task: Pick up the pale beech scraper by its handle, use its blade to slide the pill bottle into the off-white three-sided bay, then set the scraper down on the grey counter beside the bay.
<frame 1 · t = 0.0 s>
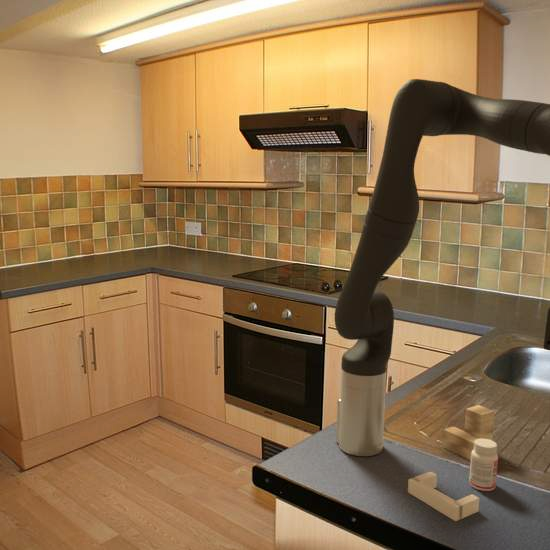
bay: (449, 498, 108), on the worktop
scraper: (477, 450, 127), on the worktop
pill bottle: (482, 486, 113), on the worktop
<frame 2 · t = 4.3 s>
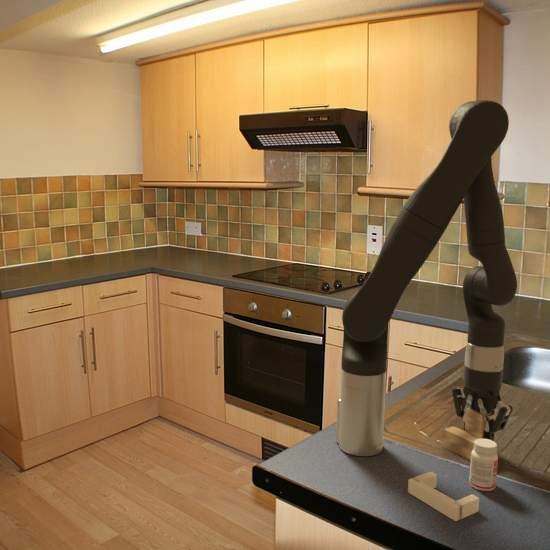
hand: (478, 442, 126), 2 cm above the worktop, fingers closed on scraper, 4 cm apart
scraper: (477, 450, 127), on the worktop, touching gripper
everything else where it was.
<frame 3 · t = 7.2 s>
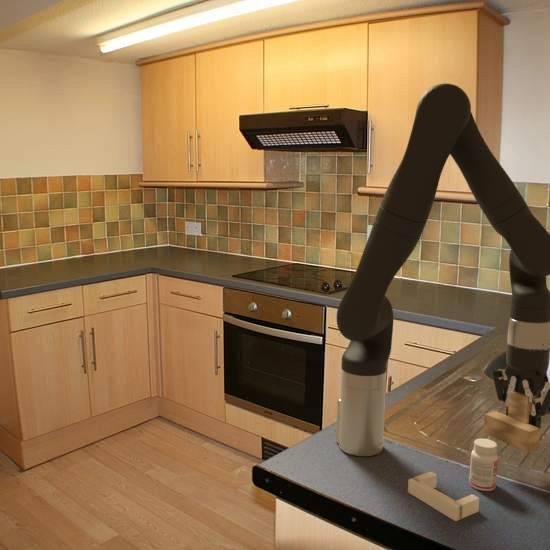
hand: (522, 428, 116), 9 cm above the worktop, fingers closed on scraper, 4 cm apart
scraper: (521, 436, 116), point 7 cm above the worktop, touching gripper
everything else where it was.
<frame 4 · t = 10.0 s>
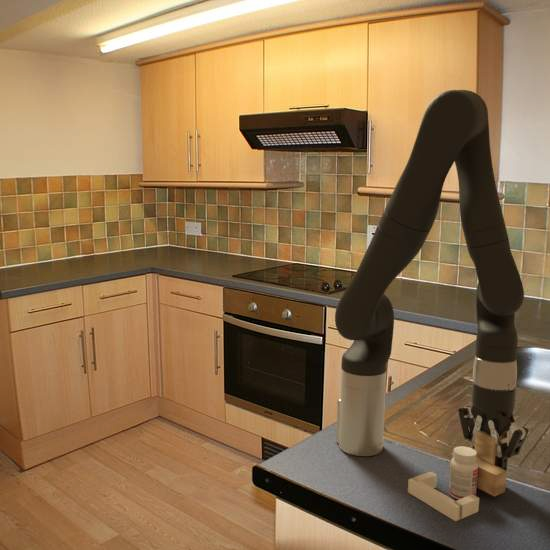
hand: (488, 468, 113), 3 cm above the worktop, fingers closed on scraper, 4 cm apart
scraper: (488, 477, 113), point 1 cm above the worktop, touching gripper, pill bottle
pill bottle: (462, 495, 109), on the worktop, touching scraper
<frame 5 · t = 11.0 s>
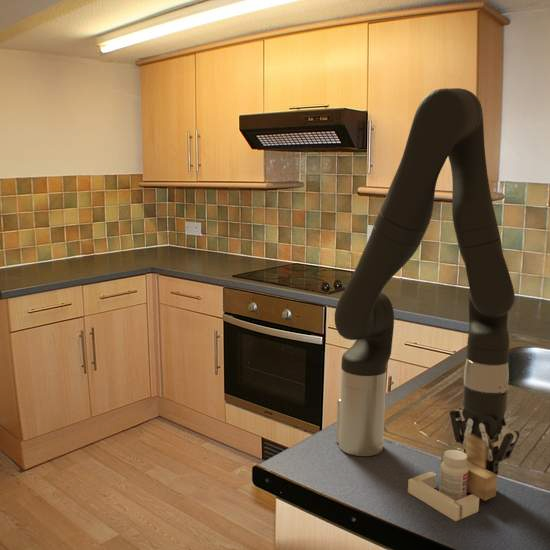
hand: (480, 472, 111), 3 cm above the worktop, fingers closed on scraper, 4 cm apart
scraper: (479, 481, 111), point 1 cm above the worktop, touching gripper, pill bottle
pill bottle: (452, 499, 108), on the worktop, touching scraper
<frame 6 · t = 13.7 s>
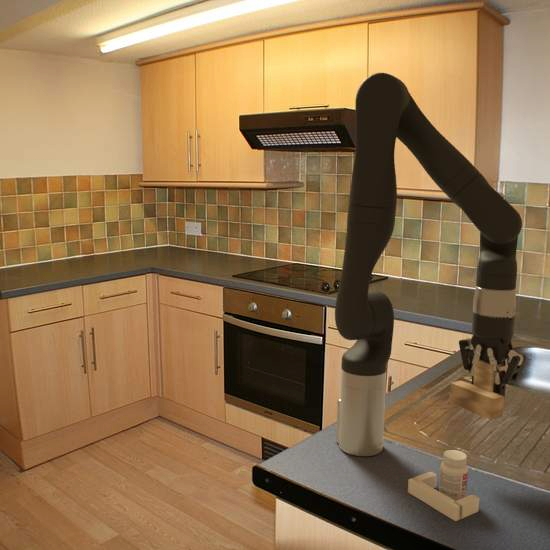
hand: (487, 397, 116), 15 cm above the worktop, fingers closed on scraper, 4 cm apart
scraper: (486, 406, 116), point 13 cm above the worktop, touching gripper
pill bottle: (452, 499, 108), on the worktop
when the fingers open (4 cm above the worktop, at t = 16.0 s): scraper drops 2 cm, on the worktop.
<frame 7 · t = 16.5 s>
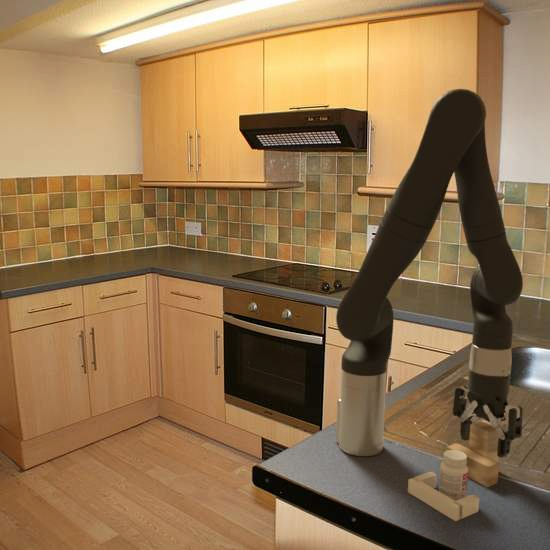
hand: (483, 447, 118), 5 cm above the worktop, fingers open, 8 cm apart
scraper: (482, 469, 119), on the worktop
everything else where it was.
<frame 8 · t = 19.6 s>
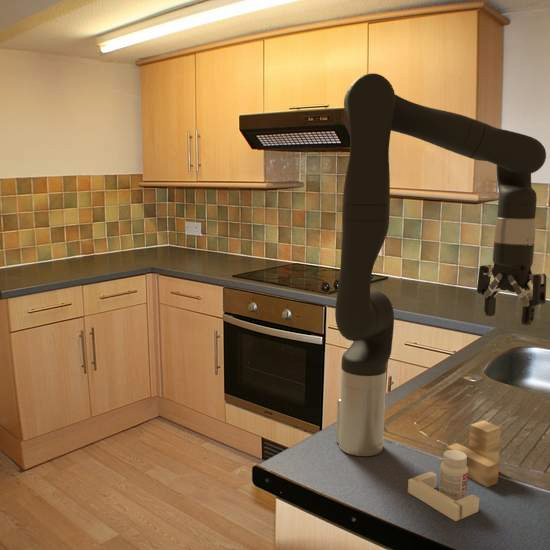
hand: (507, 320, 123), 28 cm above the worktop, fingers open, 8 cm apart
nothing on the worktop moved.
at the end: pill bottle 0.9 cm off-centre on the bay, point 0.0 cm above the bay's base; pill bottle tilted 0°; scraper touching worktop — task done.
